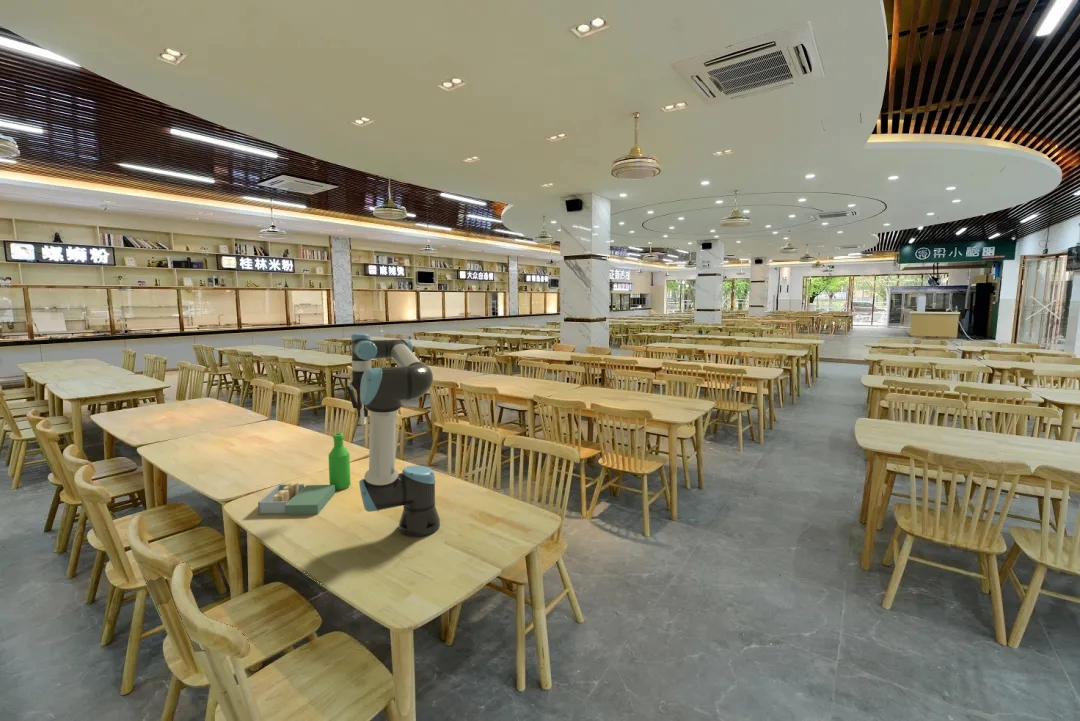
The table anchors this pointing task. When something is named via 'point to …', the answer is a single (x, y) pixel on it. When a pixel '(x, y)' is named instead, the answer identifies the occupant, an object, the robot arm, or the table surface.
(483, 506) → the table surface
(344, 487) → the bottle
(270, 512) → the tray
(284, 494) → the tile
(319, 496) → the board
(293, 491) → the wooden block stack
